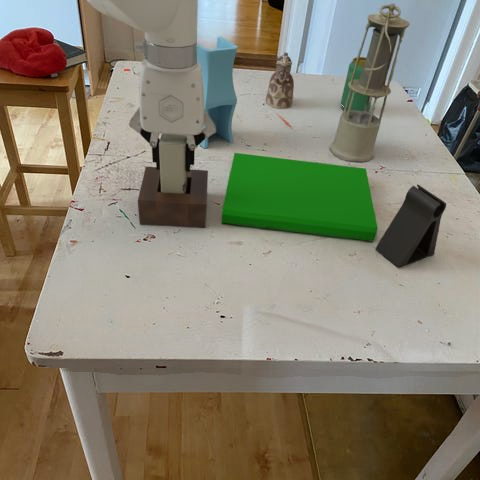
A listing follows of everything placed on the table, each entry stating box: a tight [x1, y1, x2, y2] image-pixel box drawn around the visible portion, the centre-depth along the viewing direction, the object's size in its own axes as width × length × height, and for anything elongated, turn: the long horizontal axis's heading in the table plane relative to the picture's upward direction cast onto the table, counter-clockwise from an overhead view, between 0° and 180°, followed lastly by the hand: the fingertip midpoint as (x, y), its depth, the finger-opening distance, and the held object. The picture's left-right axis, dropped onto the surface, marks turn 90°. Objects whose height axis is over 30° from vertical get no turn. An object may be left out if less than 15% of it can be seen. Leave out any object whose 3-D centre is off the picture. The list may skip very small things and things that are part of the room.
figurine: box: [265, 52, 295, 110], centre depth 124 cm, size 7×7×12 cm
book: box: [221, 152, 378, 242], centre depth 93 cm, size 22×28×3 cm
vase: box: [197, 36, 238, 150], centre depth 103 cm, size 8×8×20 cm
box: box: [159, 133, 187, 194], centre depth 84 cm, size 5×4×13 cm
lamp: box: [329, 3, 411, 162], centre depth 100 cm, size 10×13×30 cm
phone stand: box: [375, 183, 447, 269], centre depth 81 cm, size 9×6×12 cm, turn 121°
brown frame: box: [137, 166, 209, 229], centre depth 87 cm, size 12×12×5 cm
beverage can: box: [340, 56, 373, 111], centre depth 126 cm, size 8×8×12 cm
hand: (173, 166), depth 83 cm, fingers closed on box, 4 cm apart
